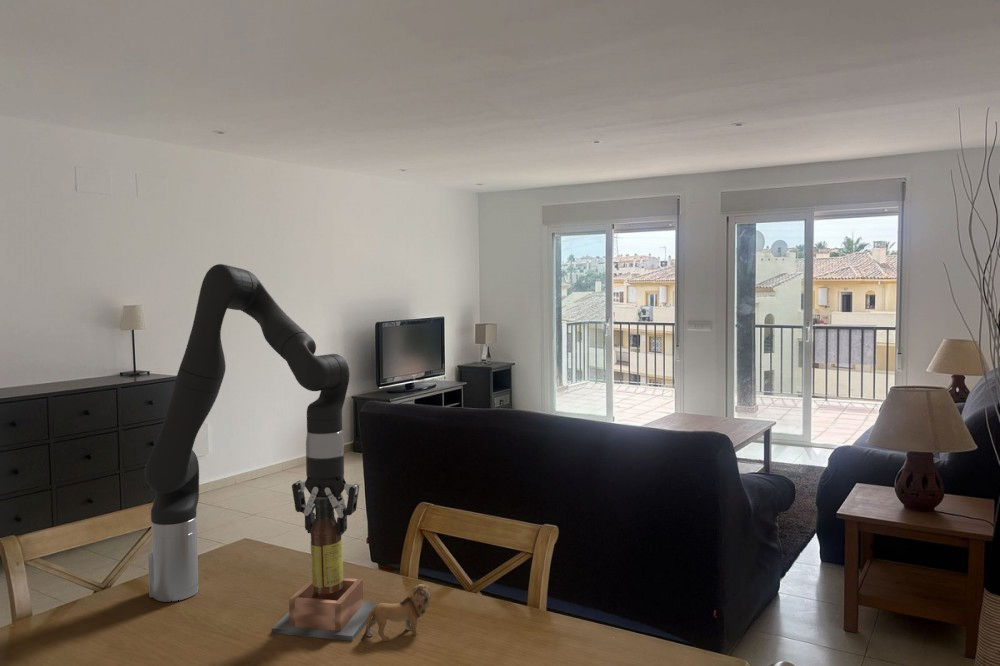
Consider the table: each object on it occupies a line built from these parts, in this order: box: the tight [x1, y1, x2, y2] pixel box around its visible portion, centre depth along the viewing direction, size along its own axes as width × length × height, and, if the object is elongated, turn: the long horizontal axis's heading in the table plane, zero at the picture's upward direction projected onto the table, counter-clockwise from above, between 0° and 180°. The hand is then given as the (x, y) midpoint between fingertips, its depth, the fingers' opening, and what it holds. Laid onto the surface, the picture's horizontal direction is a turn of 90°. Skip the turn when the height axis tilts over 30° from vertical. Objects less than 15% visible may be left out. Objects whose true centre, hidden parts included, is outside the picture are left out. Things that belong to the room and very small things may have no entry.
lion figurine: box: [360, 583, 432, 642], centre depth 143 cm, size 15×5×9 cm, turn 119°
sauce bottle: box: [309, 497, 344, 595], centre depth 148 cm, size 7×6×20 cm
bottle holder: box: [271, 577, 380, 642], centre depth 149 cm, size 17×15×6 cm
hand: (326, 532), depth 148 cm, fingers closed on sauce bottle, 6 cm apart
